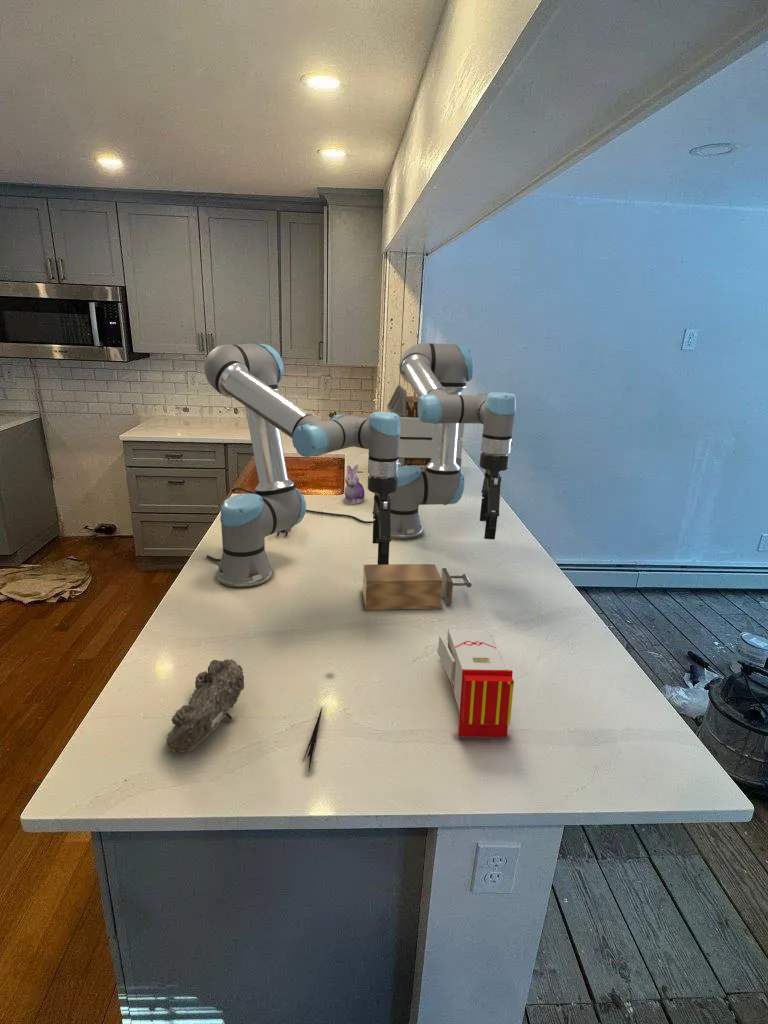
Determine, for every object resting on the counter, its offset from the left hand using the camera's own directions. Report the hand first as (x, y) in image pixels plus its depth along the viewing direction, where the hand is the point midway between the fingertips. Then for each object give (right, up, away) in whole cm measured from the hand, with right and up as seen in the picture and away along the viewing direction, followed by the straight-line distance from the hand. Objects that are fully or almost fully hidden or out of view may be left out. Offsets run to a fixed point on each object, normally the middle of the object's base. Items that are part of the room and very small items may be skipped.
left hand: (380, 553), depth 149 cm
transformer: (+18, +30, +126) cm, 131 cm away
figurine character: (-34, +4, +49) cm, 60 cm away
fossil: (-32, -28, -41) cm, 59 cm away
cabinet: (+5, -13, +6) cm, 15 cm away
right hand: (+29, +6, +6) cm, 30 cm away
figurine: (-11, +15, +82) cm, 84 cm away
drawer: (+12, -12, +6) cm, 18 cm away
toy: (+19, -27, -30) cm, 45 cm away
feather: (-11, -29, -40) cm, 51 cm away
